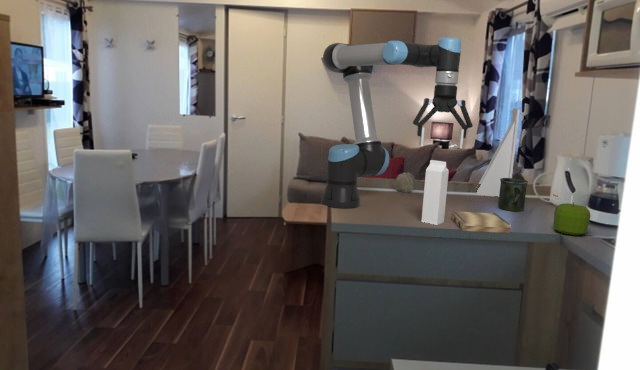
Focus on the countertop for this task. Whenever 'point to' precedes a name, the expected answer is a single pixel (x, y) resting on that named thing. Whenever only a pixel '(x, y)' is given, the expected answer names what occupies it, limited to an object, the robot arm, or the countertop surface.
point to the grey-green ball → (405, 182)
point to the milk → (435, 192)
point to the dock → (480, 222)
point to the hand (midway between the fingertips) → (440, 146)
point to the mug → (512, 194)
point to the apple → (571, 219)
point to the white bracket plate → (501, 161)
